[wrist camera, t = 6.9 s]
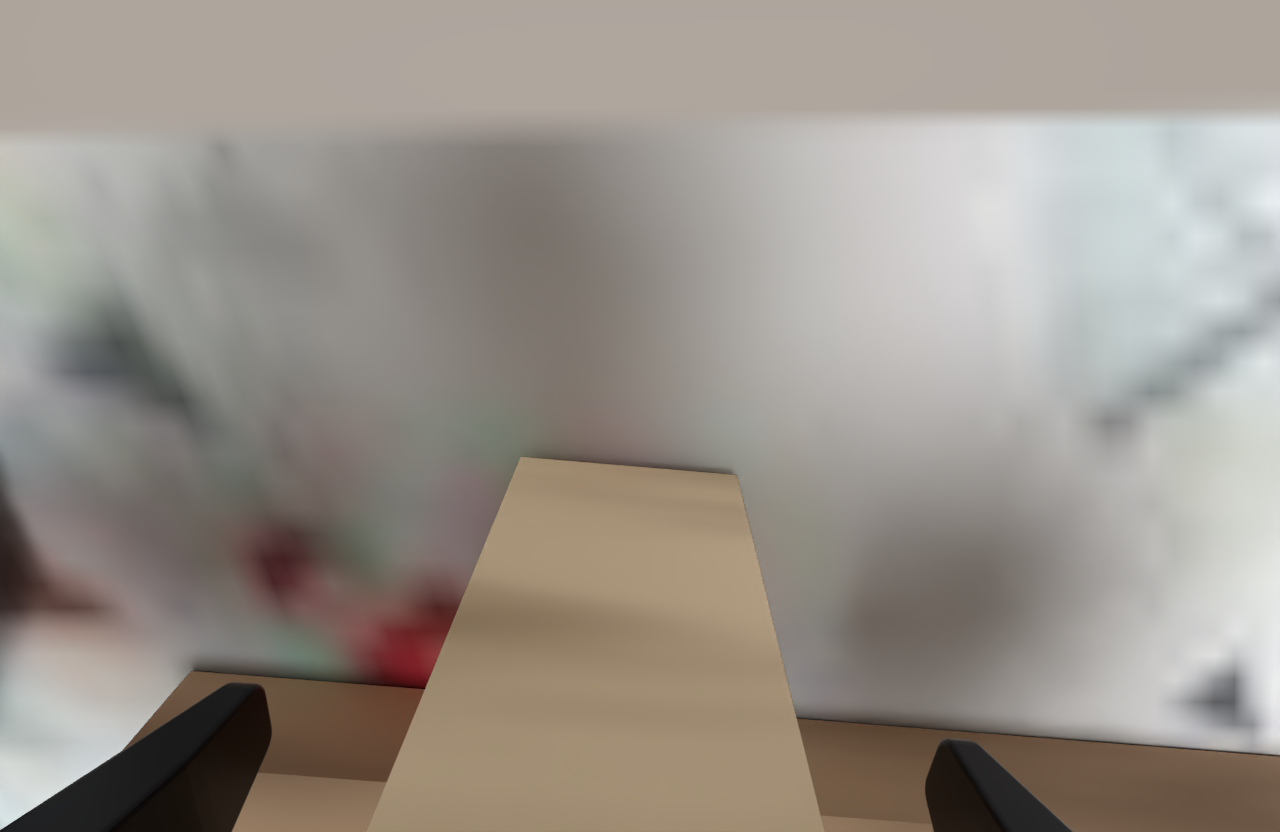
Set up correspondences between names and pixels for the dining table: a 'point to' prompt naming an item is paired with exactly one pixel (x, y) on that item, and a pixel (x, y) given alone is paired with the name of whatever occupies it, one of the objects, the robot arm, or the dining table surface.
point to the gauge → (608, 670)
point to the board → (835, 751)
